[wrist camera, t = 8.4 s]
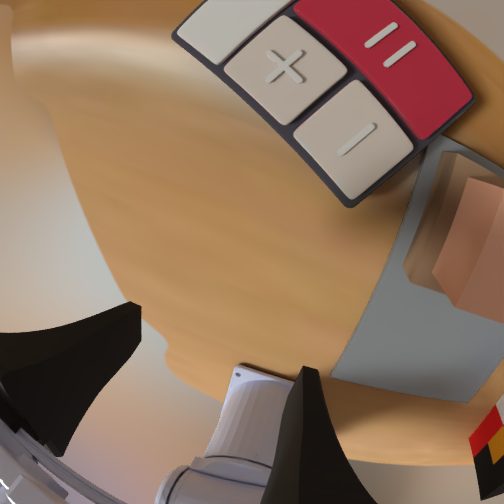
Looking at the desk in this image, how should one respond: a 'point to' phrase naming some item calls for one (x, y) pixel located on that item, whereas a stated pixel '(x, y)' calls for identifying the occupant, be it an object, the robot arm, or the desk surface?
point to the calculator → (333, 81)
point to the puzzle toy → (490, 452)
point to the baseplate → (421, 318)
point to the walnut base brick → (441, 215)
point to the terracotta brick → (475, 253)
